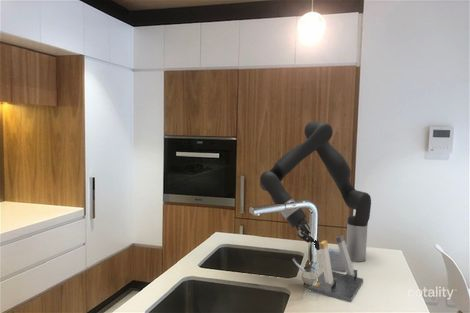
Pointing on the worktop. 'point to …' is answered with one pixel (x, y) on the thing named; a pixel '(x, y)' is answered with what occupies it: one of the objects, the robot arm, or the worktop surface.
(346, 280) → the switch panel
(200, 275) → the worktop surface
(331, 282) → the white rocker
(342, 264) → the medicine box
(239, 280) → the worktop surface
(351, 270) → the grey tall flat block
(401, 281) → the worktop surface
